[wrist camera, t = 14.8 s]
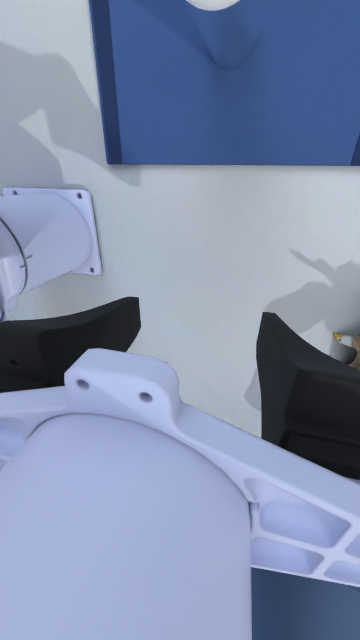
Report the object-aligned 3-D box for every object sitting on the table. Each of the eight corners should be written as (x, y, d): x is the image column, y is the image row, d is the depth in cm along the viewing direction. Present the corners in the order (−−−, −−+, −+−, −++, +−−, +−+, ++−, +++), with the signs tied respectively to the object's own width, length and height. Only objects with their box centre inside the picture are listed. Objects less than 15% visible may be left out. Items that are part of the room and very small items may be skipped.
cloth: (108, 163, 20) (106, 163, 20) (76, -130, 14) (73, -137, 13) (370, 165, 17) (373, 165, 16) (515, -247, 10) (524, -261, 9)
